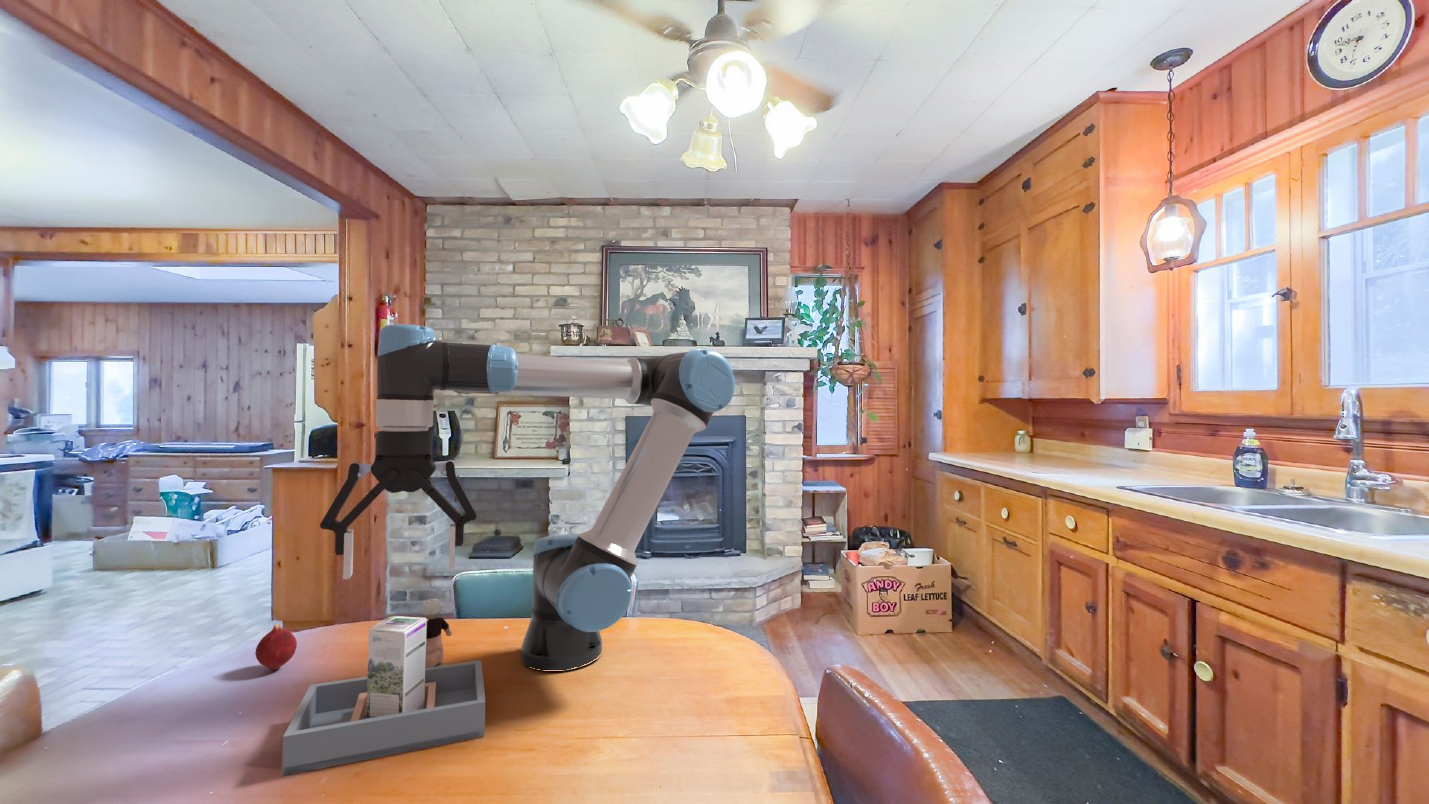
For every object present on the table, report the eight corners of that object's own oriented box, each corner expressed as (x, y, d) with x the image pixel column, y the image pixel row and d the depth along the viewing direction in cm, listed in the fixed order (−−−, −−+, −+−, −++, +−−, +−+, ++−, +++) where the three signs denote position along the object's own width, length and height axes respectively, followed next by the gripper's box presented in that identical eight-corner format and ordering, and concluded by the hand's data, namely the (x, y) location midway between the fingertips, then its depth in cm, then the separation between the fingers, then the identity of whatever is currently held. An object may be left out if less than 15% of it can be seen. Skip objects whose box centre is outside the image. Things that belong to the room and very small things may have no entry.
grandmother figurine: (436, 660, 108) (438, 592, 108) (454, 662, 107) (456, 594, 107) (404, 678, 100) (406, 605, 101) (422, 681, 99) (424, 607, 99)
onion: (303, 665, 104) (305, 621, 104) (269, 679, 99) (271, 632, 99) (281, 660, 106) (283, 616, 106) (247, 673, 101) (248, 627, 101)
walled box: (480, 689, 97) (481, 660, 97) (484, 736, 83) (485, 701, 83) (309, 718, 87) (310, 684, 87) (281, 776, 73) (283, 736, 73)
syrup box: (425, 711, 88) (429, 615, 88) (401, 732, 82) (404, 630, 82) (390, 708, 88) (393, 613, 88) (363, 729, 82) (367, 627, 83)
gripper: (492, 428, 94) (490, 558, 94) (310, 428, 84) (306, 573, 84) (495, 430, 87) (492, 570, 87) (297, 430, 77) (293, 588, 77)
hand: (401, 572), depth 85 cm, fingers open, 13 cm apart
